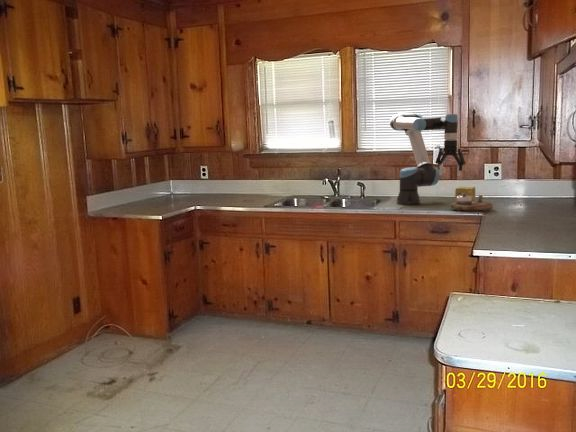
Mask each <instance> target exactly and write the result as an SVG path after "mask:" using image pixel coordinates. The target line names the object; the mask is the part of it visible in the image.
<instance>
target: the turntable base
mask: <svg viewBox="0 0 576 432" xmlns="http://www.w3.org/2000/svg"><path fill="white" fill-rule="evenodd" d="M460 210H461V209H458V211H460ZM484 211H485V210H461V211H460V212H465V213H479V212H481V213H482V212H484Z"/></svg>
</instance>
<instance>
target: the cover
mask: <svg viewBox="0 0 576 432" xmlns="http://www.w3.org/2000/svg"><path fill="white" fill-rule="evenodd" d="M456 204H459V205H470V204H472V196H469V195H466V194H465V193H463V194H462V195H459V196H456Z"/></svg>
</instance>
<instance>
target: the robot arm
mask: <svg viewBox="0 0 576 432" xmlns="http://www.w3.org/2000/svg"><path fill="white" fill-rule="evenodd" d="M458 121H459V117H458V113H457V114H455V113H453V114H451V113H450V114H449V113H448V114H447V113H446V114H445V115H444V117H441V116H440V117H423V116H422V115H421V114H420V113H418V112H417V113H415V112H411V113H396V114H393V115H392V116H391V118H390V120H389V126H390V127H391V129H393V130H394V131H399V132H401V131H404V133H405V135H406V136H408V139H409V142H410V146H411V149H412V153H413V156H414V159H415V163H416V166H412V167H411V166H410V167H409V166H408V167H404V168H402V169H400V170H399V192H398V195H397V199H396V204H398V205H402V206H403V205H404V206H405V205H406V206H407V205H409V206H412V205H414V206H415V205H419V204H421V199H420V195H419V191H418V190H419V189H418V187H419V188H421V187H432V186H436V185H437V184H438V183H439V180H440V176H443V173H444V170H443V169H444V168H443V167H444V164H443V163H444V161H445V160H446V158H447V156H452V157H453V158H454V159H455V161H456V163H457V164H458V165H457V166H456V167H457V174H456V176H457V177H461V176H462V175H461V173H462V172H461V171H462V170H463V166H464V165H465V164H466V161H465V158H464V155H463V148H457V147H458V140H457V139H458V127H459V126H458V124H459V122H458ZM422 131H444V136H443V139H444V141H443V147H440V148H439V150H438V151H439V152H438V154H437V157H436V160H435V164H437V165H438V166H437V167H434V164H433V163H432V162H430V158H429V155H428V152H427V148H426V144H425V142H424V138H423V136H422Z"/></svg>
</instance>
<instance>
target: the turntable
mask: <svg viewBox="0 0 576 432" xmlns="http://www.w3.org/2000/svg"><path fill="white" fill-rule="evenodd" d="M477 198H478V200H477V201H472V204H470V205H459V204H456V202H451V203H450V207H451V208H452V209H456V210H459V209H461V210H484V211H486V210H487V211H488V210H492V209H493V208H494V204H493V203H491V202H486V201H485V202H484V201H483V195H480V194H479V195H478V196H477Z"/></svg>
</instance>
